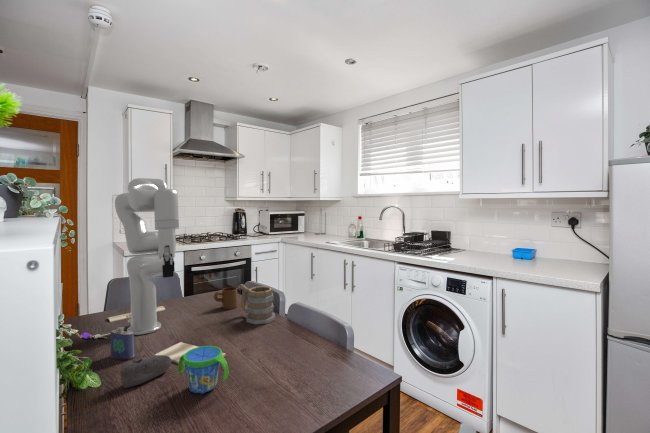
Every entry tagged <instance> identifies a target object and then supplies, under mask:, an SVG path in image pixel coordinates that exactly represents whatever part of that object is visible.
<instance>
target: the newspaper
mask: <svg viewBox="0 0 650 433" xmlns="http://www.w3.org/2000/svg"><path fill="white" fill-rule="evenodd" d="M156 307H157V313H158V312H163V311H165V310H166V308H165V306H163V305H161V306H156ZM106 319H107V320H109V323H113V322H117V321H123V320H127V319H131V312H128V313H124V314H120V315H119V314H118V315H114V316H110V317H107V318H106Z"/></svg>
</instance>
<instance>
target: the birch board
mask: <svg viewBox="0 0 650 433" xmlns="http://www.w3.org/2000/svg"><path fill="white" fill-rule="evenodd" d="M197 347H199V346H197V345H194V344H189V343H186V342H182V341H180V342H178V343H175V344H174V345H171V346H169V347H167V348H165V349H163V350H160V351H159V352H157V353H155V354H154V356H157V355H165V356H169V357H170V358H171V363H175V364H178V363H179V360H180V357H181V356H182V355H184V354H185V353H186V352H188V351H189V350H191V349H194V348H197ZM222 356H223V357H224V358H225V357H226V353H225V352H222ZM184 365H185V364H184Z"/></svg>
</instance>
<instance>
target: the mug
mask: <svg viewBox="0 0 650 433" xmlns="http://www.w3.org/2000/svg"><path fill="white" fill-rule="evenodd" d="M218 296H221V297H219V298H218ZM213 299H214V300H215V301H216V302H219V303H221V307H222V309H224V310H233V309H235V308H237V307H238V287H233V286H232V287H231V286H229V287H224V288H222V289H221V291H217V292H215V293H214V295H213Z"/></svg>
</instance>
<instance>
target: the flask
mask: <svg viewBox="0 0 650 433" xmlns="http://www.w3.org/2000/svg"><path fill="white" fill-rule="evenodd" d="M134 337H135V335H134V332H127V331H125V326H122V327H121V326H119V327H117V328H116V329H114V330H111V331H110V358H112V359H117V360H126V361H127V360H131V361H132V360H133V359H134V358H135V342H134V341H135V340H134V339H135V338H134Z"/></svg>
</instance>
